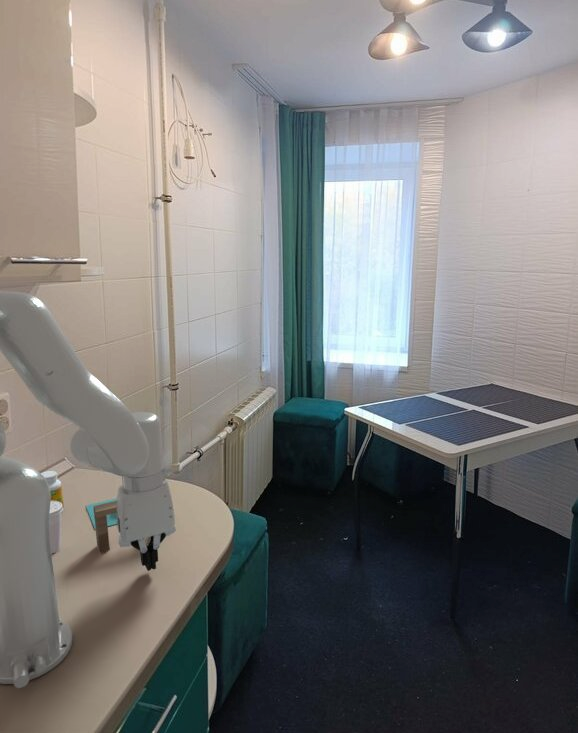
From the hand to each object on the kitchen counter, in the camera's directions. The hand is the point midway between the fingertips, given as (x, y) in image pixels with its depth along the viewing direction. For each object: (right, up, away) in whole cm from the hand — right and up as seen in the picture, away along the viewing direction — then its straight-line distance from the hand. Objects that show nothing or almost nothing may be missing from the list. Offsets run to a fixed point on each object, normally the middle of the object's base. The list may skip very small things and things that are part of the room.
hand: (150, 566), depth 101 cm
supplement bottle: (-31, +3, +25) cm, 40 cm away
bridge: (-7, +1, +12) cm, 14 cm away
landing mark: (-14, +4, +25) cm, 29 cm away
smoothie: (-23, 0, +9) cm, 25 cm away
